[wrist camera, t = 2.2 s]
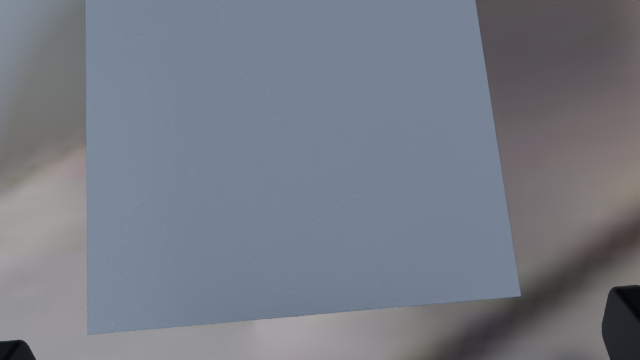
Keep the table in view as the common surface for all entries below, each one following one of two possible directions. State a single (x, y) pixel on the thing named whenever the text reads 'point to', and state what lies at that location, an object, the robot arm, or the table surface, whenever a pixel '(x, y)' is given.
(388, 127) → the blue-grey rectangular box
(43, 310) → the table surface
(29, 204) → the table surface
